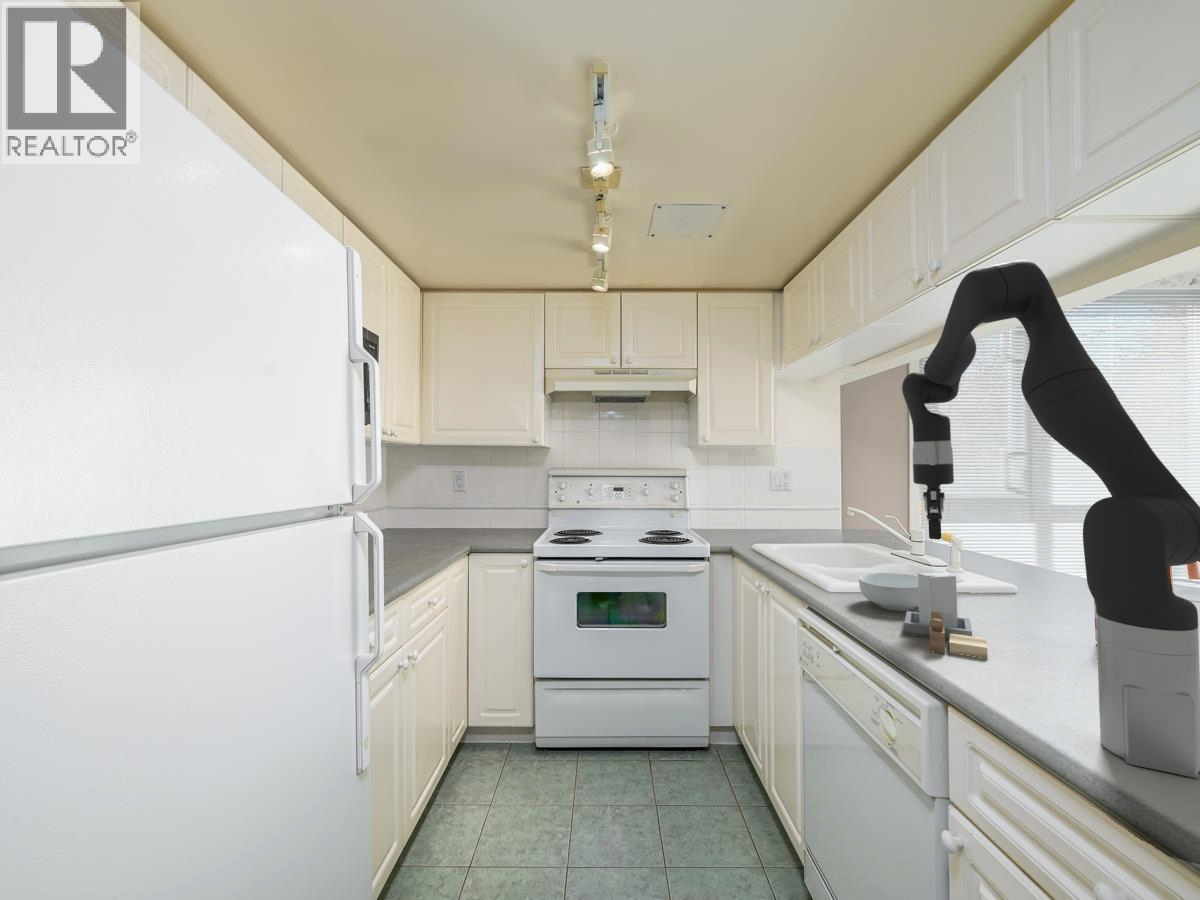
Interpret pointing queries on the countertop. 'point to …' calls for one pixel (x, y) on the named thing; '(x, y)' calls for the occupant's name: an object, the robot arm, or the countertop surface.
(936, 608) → the skincare box
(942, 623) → the stop bar
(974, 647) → the tan block
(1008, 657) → the countertop surface
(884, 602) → the cereal bowl
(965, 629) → the tray
